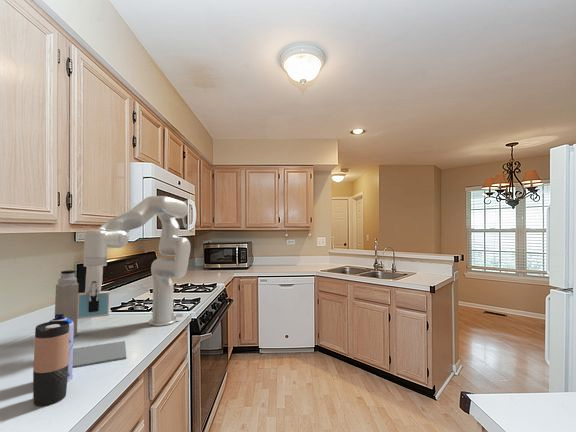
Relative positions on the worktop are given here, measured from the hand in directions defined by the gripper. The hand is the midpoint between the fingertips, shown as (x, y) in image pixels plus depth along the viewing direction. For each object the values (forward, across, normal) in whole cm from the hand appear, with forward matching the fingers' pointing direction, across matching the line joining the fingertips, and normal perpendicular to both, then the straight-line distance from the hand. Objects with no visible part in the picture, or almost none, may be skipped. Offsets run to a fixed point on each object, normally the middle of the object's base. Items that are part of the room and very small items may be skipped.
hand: (93, 310), depth 120 cm
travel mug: (+16, +34, -8) cm, 38 cm away
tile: (+3, 0, 0) cm, 3 cm away
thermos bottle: (+15, -23, -11) cm, 30 cm away
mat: (+15, +5, 0) cm, 16 cm away
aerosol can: (+16, +22, -8) cm, 28 cm away
